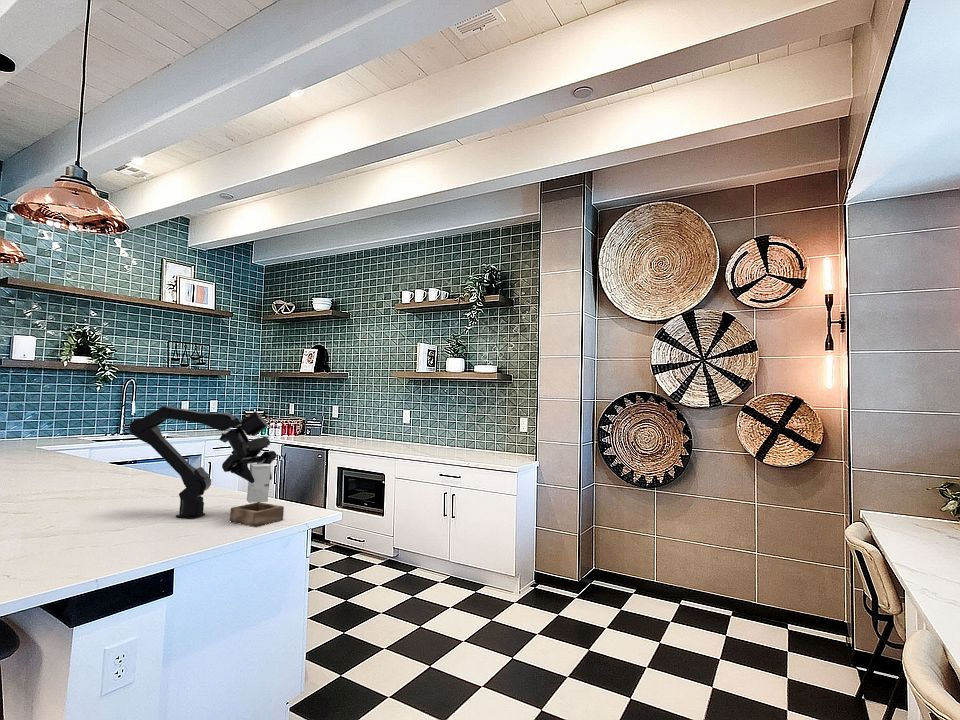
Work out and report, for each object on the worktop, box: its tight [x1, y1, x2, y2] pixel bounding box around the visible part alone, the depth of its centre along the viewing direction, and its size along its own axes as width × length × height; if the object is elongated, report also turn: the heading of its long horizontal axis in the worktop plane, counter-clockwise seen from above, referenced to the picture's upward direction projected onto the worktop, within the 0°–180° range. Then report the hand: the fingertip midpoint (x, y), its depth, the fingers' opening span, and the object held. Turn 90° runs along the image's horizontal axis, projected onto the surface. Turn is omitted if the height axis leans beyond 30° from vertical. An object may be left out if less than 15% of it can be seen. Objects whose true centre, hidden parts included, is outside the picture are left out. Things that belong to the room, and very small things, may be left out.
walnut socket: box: [229, 502, 285, 528], centre depth 179 cm, size 12×12×4 cm
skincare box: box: [246, 463, 272, 504], centre depth 179 cm, size 6×4×12 cm
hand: (262, 480), depth 179 cm, fingers closed on skincare box, 7 cm apart
